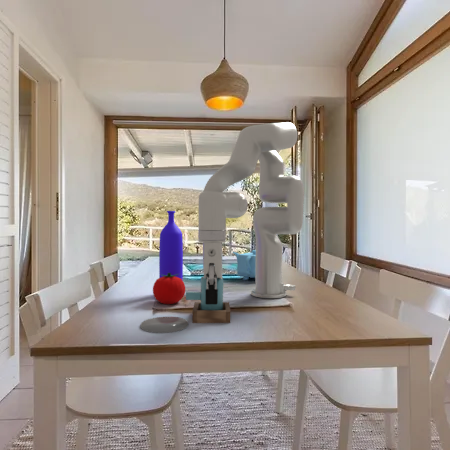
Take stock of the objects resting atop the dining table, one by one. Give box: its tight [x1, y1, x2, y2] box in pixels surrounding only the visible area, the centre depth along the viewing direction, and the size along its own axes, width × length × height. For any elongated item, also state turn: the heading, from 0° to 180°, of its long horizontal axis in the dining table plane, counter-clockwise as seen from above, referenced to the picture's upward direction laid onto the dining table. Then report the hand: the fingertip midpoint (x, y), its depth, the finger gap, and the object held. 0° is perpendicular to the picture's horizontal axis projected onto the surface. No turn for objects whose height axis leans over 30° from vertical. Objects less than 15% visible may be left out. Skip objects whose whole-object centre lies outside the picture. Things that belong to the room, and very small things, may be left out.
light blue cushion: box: [232, 249, 256, 281], centre depth 165 cm, size 18×16×13 cm
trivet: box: [140, 316, 189, 334], centre depth 94 cm, size 12×12×1 cm
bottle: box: [158, 210, 184, 282], centre depth 131 cm, size 8×8×30 cm
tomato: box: [152, 273, 186, 305], centre depth 118 cm, size 10×10×10 cm
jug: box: [185, 276, 224, 310], centre depth 101 cm, size 10×6×11 cm, turn 91°
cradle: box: [191, 301, 231, 324], centre depth 102 cm, size 10×10×4 cm
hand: (211, 300), depth 101 cm, fingers open, 7 cm apart
